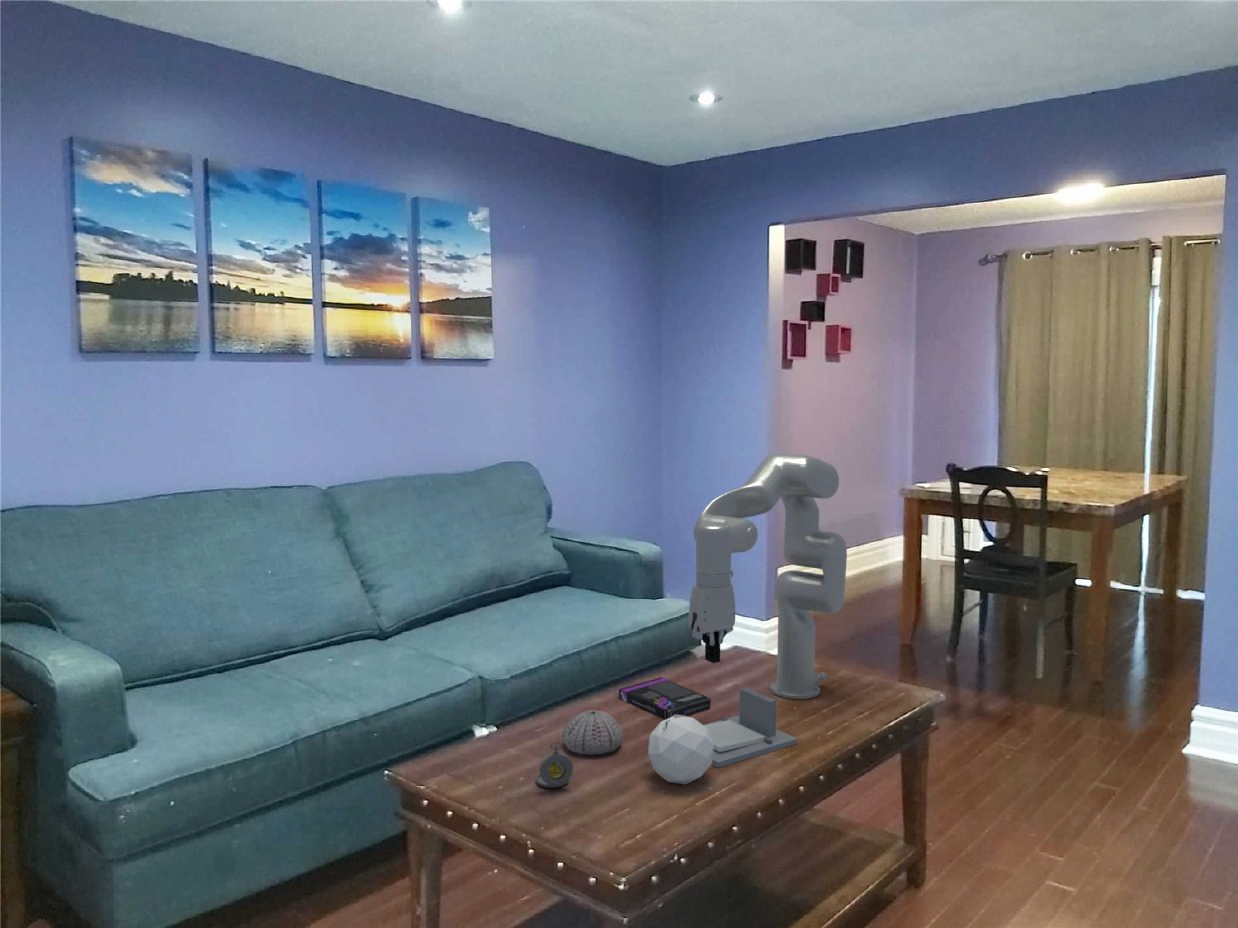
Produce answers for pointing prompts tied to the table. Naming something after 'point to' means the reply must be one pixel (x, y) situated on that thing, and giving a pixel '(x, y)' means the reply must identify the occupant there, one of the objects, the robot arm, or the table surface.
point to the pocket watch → (555, 769)
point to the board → (750, 748)
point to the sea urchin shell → (592, 733)
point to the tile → (731, 735)
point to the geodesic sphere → (680, 749)
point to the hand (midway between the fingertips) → (712, 660)
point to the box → (664, 698)
